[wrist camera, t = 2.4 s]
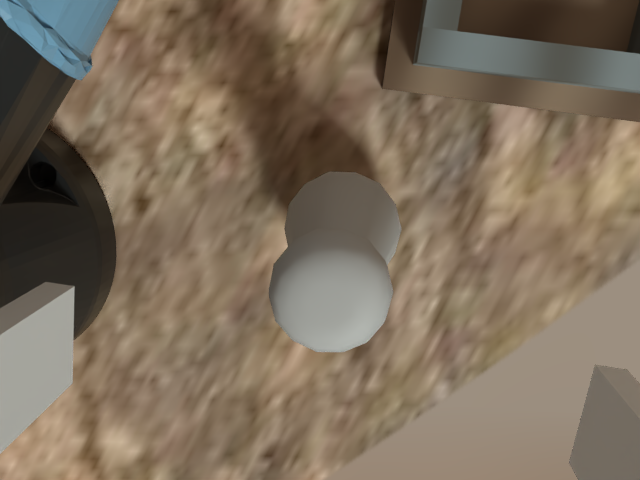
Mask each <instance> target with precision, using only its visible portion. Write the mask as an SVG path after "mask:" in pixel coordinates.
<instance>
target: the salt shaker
mask: <svg viewBox="0 0 640 480" xmlns="http://www.w3.org/2000/svg"><path fill="white" fill-rule="evenodd" d="M284 229H285V234H286V239H287V243H288V248H287V249H286V250H285V251H284V252H283V254H282V255H281V256H280V257H279V259H278V260H277V261H276V262H275V263H274V266H273V271H272V277H271V282H270V287H269V298H270V302H271V306H272V309H273V313H274V317H275V321H276V322H277V323H278V324H279V325H280V327H281V328H282V329H283V330H284V331H285V332H286V333H287V335H288V336H289V337H290V338H291V339H292V340H293V341H295V342H297V343H299V344H301V345H303V346H305V347H307V348H310V349H312V350H314V351H316V352H344V351H347V350H349V349H352V348H354V347H357V346H359V345H362V344H364V343H366V342H368V341H369V339H370V338H371V337H372V336H373V335H374V334H375V333H376V331H377V330H378V329H379V328H380V327H381V326H382V324H383V323H384V321H385V319H386V316H387V313H388V309H389V305H390V302H391V298H392V295H393V288H392V284H391V280H390V276H389V272H388V267H387V264H388V263H389V261H390V260H391V259H392V257H393V256H394V254H395V251H396V247H397V243H398V240H399V236H400V232H401V225H400V221H399V217H398V212H397V208H396V204H395V203H394V201H393V200H392V199H391V197H390V196H389V195H388V193H387V192H386V191H385V190H384V188H383V187H382V186H381V184H380V183H378V182H376V181H374V180H372V179H369V178H367V177H365V176H363V175H360V174H358V173H356V172H327V173H325V174H323V175H321V176H319V177H317V178H315V179H313V180H311V181H309V182H308V183H306V184H305V185H304V186H303V187H302V188H301V190H300V191H299V192H298V193H297V194H296V196H295V197H294V198H293V199H292V201H291V202H290V203H289V207H288V212H287V218H286V223H285V228H284Z"/></svg>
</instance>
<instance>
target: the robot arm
mask: <svg viewBox="0 0 640 480" xmlns="http://www.w3.org/2000/svg"><path fill="white" fill-rule="evenodd" d="M118 1H119V0H0V453H1V452H2V451H3V450H5V449H6V448H7V447H8V446H9V445H10V444H11V443H12V442H13V441H14V440H15V439H16V438H17V437H18V436H19V435H20V434H21V433H22V432H23V431H24V430H25V429H26V428H27V427H28V426H29V425H30V424H31V423H32V422H33V421H34V420H35V419H36V418H37V417H38V416H39V415H40V414H41V413H42V412H44V411H45V410H46V409H47V408H48V407H49V406H50V405H51V404H52V403H53V402H54V401H55V400H56V399H57V398H58V397H59V396H60V395H61V394H62V393H63V392H64V391H65V390H66V389H67V388H68V387H69V386H70V385H71V384H72V380H73V341H74V340H75V339H76V338H77V337H78V336H79V335H81V334H82V333H83V332H84V331H85V330H86V329H87V328H88V327H89V326H90V325H91V323H92V322H93V321H94V320H95V318H96V317H97V315H98V314H99V312H100V311H101V309H102V307H103V305H104V303H105V302H106V299H107V297H108V294H109V292H110V289H111V286H112V282H113V278H114V272H115V265H116V239H115V232H114V226H113V222H112V217H111V214H110V211H109V208H108V205H107V202H106V200H105V197H104V195H103V193H102V191H101V189H100V187H99V185H98V183H97V181H96V180H95V178H94V176H93V175H92V173H91V172H90V170H89V169H88V167H87V166H86V165H85V163H84V162H83V161H82V160H81V158H80V157H79V156H78V155H77V154H76V153H75V152H74V151H73V150H72V149H71V147H70V146H69V145H67V144H66V143H65V142H64V141H63V140H62V139H61V138H60V137H58V136H57V135H56V134H54V133H53V132H52V131H50V130H49V129H48V128H47V127H48V125H49V123H50V122H51V120H52V118H53V117H54V115H55V113H56V112H57V110H58V108H59V107H60V105H61V103H62V102H63V100H64V98H65V97H66V95H67V93H68V92H69V90H70V88H71V87H72V85H73V83H74V82H75V80H76V79H78V80H82V79H83V78H84V76H85V75H86V74H87V73H88V72H89V71H90V70H91V68H92V59H91V55H90V54H91V53H92V51H93V49H94V47H95V45H96V43H97V41H98V39H99V37H100V35H101V33H102V31H103V29H104V28H105V26H106V24H107V22H108V20H109V18H110V16H111V14H112V12H113V10H114V8H115V6H116V4H117V3H118ZM569 463H570V465H571V467H572V469H573V471H574V473H575V475H576V477H577V478H578V480H640V383H639V382H638V381H637V380H636V379H635V378H634V377H633V376H632V375H631V374H630V372H629V371H628V370H626V369H619V368H613V367H607V366H599V365H595V367H594V371H593V374H592V378H591V382H590V386H589V390H588V393H587V397H586V401H585V405H584V408H583V412H582V416H581V419H580V423H579V427H578V431H577V435H576V438H575V442H574V446H573V449H572V454H571V457H570V461H569Z"/></svg>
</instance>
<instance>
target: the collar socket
mask: <svg viewBox="0 0 640 480" xmlns="http://www.w3.org/2000/svg"><path fill="white" fill-rule="evenodd" d="M382 89H389V90H397V91H405V92H412V93H420V94H428V95H436V96H443V97H451V98H459V99H466V100H474V101H482V102H490V103H497V104H505V105H513V106H520V107H528V108H536V109H544V110H551V111H559V112H567V113H574V114H582V115H590V116H597V117H605V118H613V119H621V120H628V121H636V122H640V0H395V5H394V12H393V18H392V25H391V32H390V39H389V45H388V52H387V59H386V66H385V72H384V79H383V86H382Z"/></svg>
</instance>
